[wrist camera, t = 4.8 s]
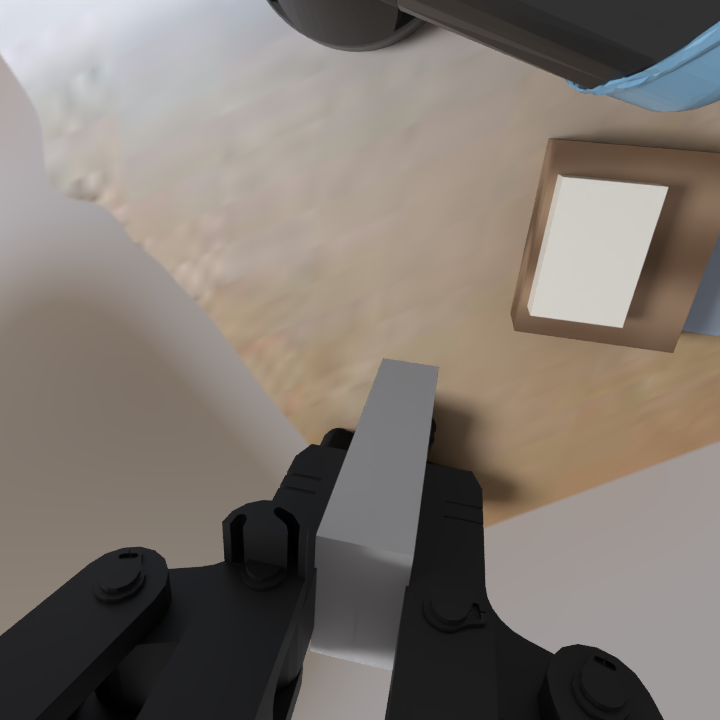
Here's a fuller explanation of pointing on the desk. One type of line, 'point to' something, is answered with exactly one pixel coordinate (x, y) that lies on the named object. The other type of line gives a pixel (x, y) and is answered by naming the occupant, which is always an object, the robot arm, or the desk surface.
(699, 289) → the mat
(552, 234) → the white rectangular block
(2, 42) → the desk surface
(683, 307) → the brown wooden flat block
